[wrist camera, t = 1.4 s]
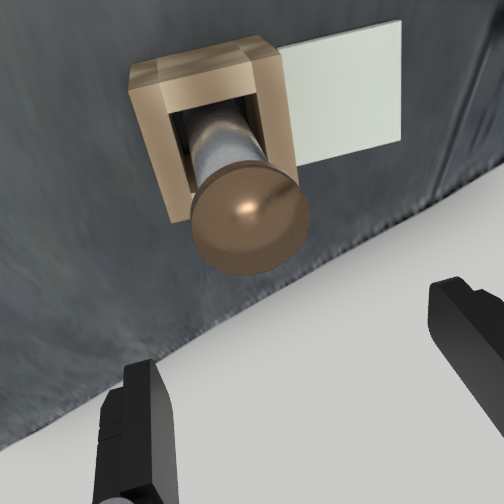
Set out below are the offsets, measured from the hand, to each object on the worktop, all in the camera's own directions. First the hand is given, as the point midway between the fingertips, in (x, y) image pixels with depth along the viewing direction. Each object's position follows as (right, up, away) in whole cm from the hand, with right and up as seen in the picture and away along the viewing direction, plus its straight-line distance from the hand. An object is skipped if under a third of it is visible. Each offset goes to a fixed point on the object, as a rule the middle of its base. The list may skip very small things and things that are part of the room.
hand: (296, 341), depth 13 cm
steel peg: (-4, +12, +18) cm, 22 cm away
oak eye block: (-4, +12, +18) cm, 22 cm away
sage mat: (+5, +13, +19) cm, 23 cm away
